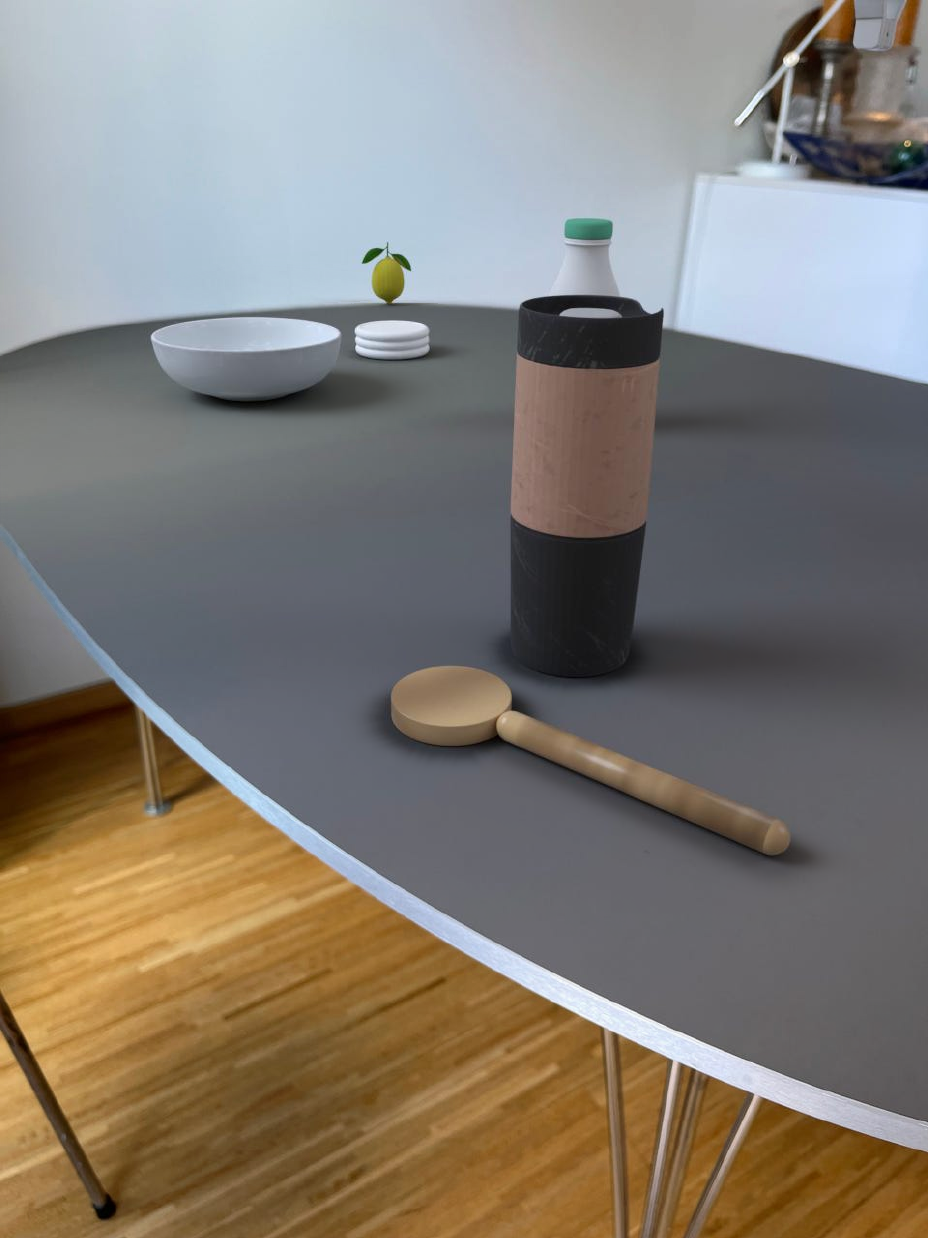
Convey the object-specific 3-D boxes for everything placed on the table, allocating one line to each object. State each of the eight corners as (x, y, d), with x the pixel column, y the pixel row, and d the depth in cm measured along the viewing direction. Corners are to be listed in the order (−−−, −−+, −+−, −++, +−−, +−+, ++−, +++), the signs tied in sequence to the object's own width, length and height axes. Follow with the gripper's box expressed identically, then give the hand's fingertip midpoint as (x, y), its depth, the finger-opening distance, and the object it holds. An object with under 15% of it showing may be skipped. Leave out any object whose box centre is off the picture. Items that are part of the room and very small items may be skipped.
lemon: (362, 305, 174) (360, 242, 169) (376, 300, 179) (374, 239, 174) (399, 308, 172) (398, 244, 168) (412, 302, 177) (411, 241, 173)
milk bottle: (623, 419, 109) (639, 218, 100) (601, 438, 103) (615, 224, 94) (555, 411, 112) (564, 214, 103) (528, 428, 106) (536, 220, 97)
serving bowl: (333, 416, 109) (330, 350, 106) (136, 415, 109) (127, 349, 106) (351, 372, 128) (349, 315, 125) (183, 371, 128) (176, 314, 125)
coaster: (401, 363, 133) (401, 336, 132) (340, 354, 138) (339, 327, 136) (443, 350, 141) (443, 324, 139) (384, 342, 145) (383, 317, 144)
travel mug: (486, 664, 60) (494, 311, 51) (531, 612, 66) (545, 290, 58) (614, 691, 57) (645, 323, 49) (648, 634, 64) (681, 300, 55)
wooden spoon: (815, 823, 47) (820, 794, 46) (753, 897, 42) (759, 866, 42) (444, 672, 59) (444, 648, 58) (366, 717, 55) (365, 691, 54)
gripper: (909, -255, 56) (863, 38, 62) (1008, -177, 70) (963, 55, 76) (797, -233, 59) (764, 42, 65) (913, -163, 74) (877, 57, 80)
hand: (872, 49), depth 71 cm, fingers closed
